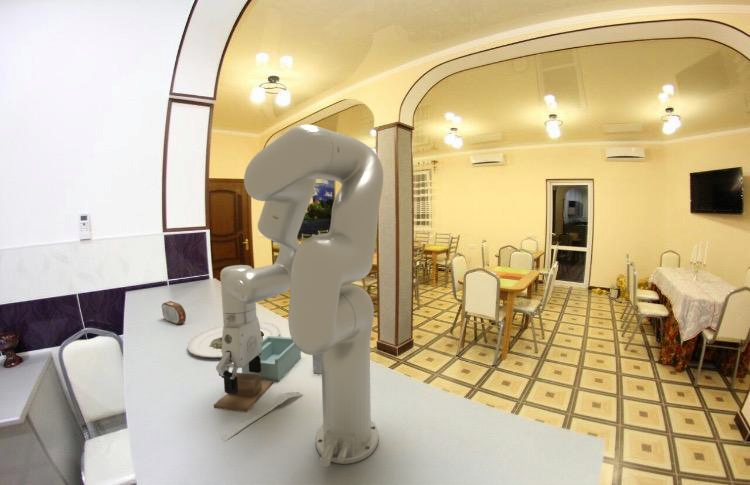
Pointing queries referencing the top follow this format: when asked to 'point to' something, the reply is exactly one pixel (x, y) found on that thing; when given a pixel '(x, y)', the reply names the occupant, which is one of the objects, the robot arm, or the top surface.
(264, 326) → the plated food
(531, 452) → the top surface
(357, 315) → the robot arm
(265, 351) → the slide box
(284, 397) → the fork
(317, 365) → the medicine box
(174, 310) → the tin
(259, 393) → the cover plate
